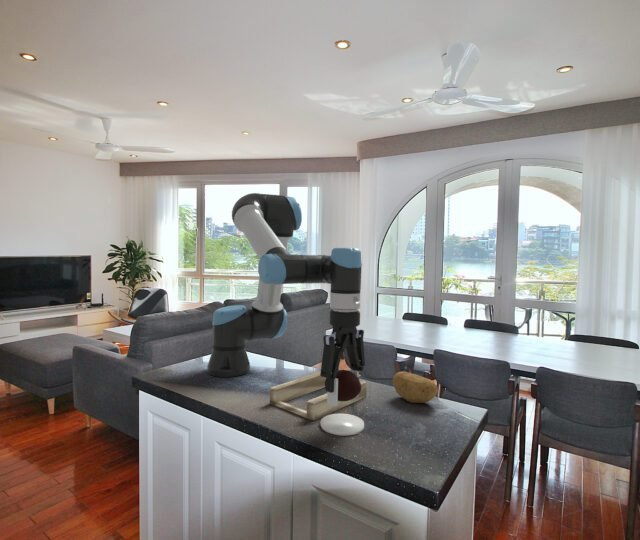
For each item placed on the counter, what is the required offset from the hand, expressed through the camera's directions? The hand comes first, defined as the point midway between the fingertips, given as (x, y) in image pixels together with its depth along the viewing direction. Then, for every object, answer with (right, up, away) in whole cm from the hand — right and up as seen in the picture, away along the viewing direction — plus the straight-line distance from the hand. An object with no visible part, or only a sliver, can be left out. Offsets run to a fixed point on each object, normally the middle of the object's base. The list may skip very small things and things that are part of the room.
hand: (343, 399), depth 98 cm
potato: (+22, -7, +18) cm, 29 cm away
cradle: (-6, -6, +17) cm, 19 cm away
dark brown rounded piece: (0, 0, 0) cm, 0 cm away
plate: (0, -7, 0) cm, 7 cm away
